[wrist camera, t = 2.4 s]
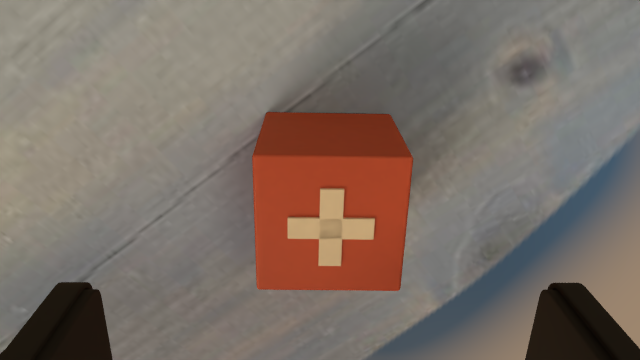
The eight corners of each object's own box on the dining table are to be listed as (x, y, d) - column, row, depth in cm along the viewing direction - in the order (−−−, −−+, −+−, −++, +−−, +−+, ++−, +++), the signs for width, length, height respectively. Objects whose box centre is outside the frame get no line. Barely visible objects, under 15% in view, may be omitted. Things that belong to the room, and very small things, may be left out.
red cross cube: (390, 113, 18) (414, 158, 14) (382, 223, 20) (400, 293, 16) (265, 111, 18) (251, 155, 14) (268, 222, 20) (256, 292, 16)
